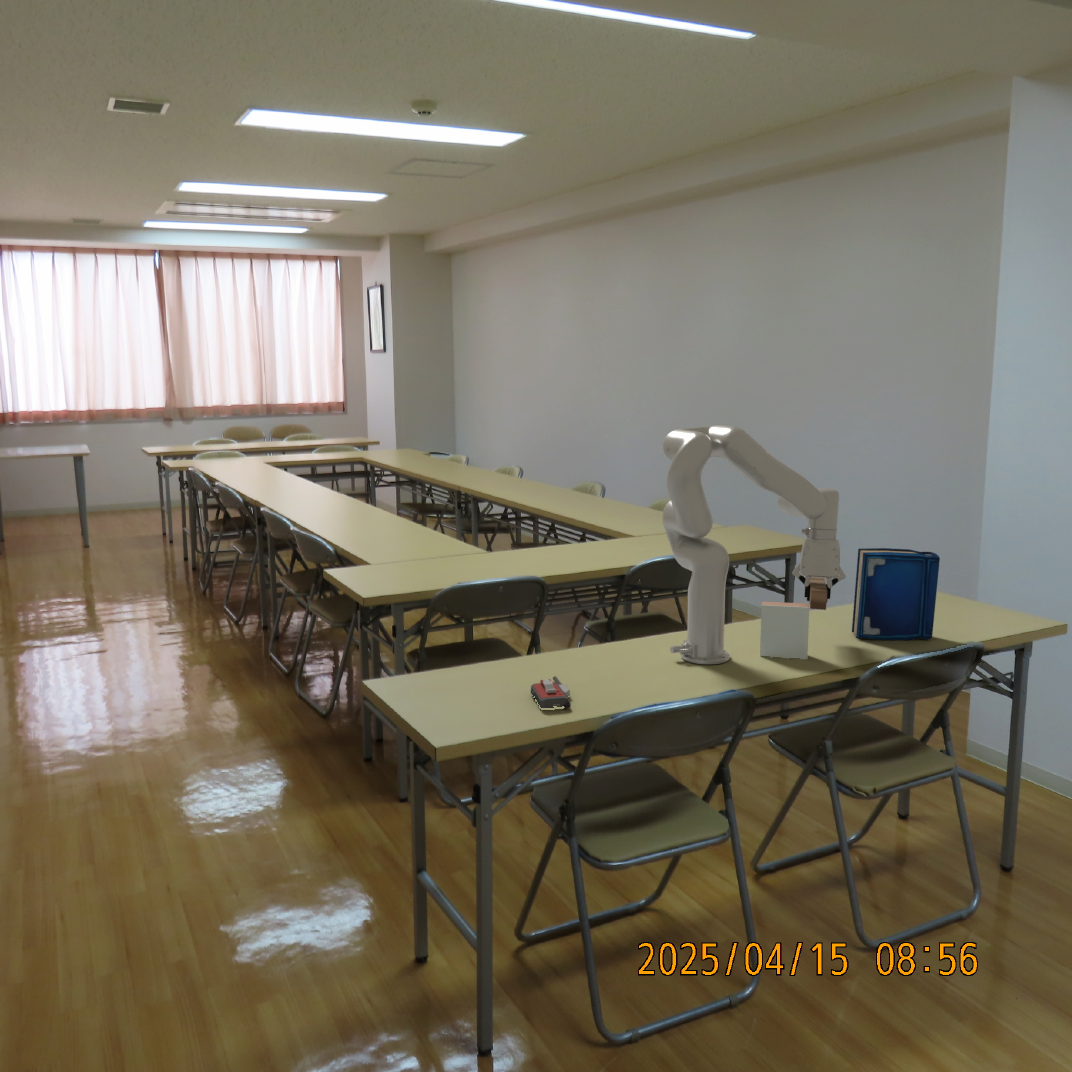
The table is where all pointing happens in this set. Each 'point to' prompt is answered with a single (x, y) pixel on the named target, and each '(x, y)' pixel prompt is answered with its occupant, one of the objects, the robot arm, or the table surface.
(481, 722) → the table surface
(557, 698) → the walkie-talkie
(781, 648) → the tile
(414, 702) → the table surface
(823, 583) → the block
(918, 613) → the book
